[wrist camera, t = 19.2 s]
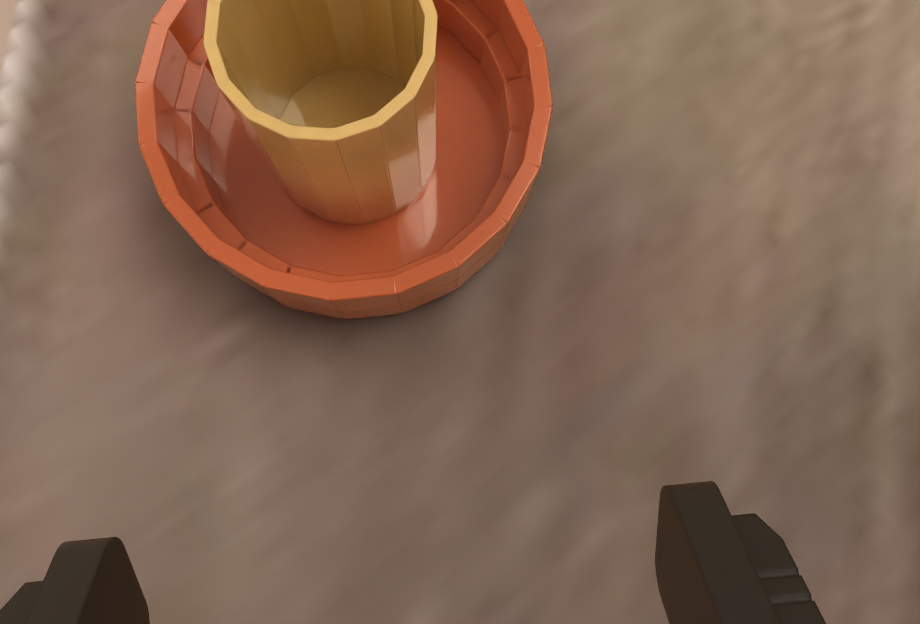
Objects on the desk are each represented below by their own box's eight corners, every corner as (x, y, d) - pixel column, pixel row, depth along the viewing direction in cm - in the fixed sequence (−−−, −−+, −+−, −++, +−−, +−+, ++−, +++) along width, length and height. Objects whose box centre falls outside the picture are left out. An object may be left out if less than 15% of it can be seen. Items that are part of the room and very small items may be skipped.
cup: (362, 34, 32) (332, -123, 23) (471, 151, 32) (484, 38, 23) (237, 137, 32) (156, 18, 23) (346, 258, 31) (308, 186, 22)
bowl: (374, -83, 34) (363, -172, 29) (605, 160, 32) (635, 110, 28) (109, 132, 32) (49, 77, 27) (341, 394, 31) (323, 387, 26)
